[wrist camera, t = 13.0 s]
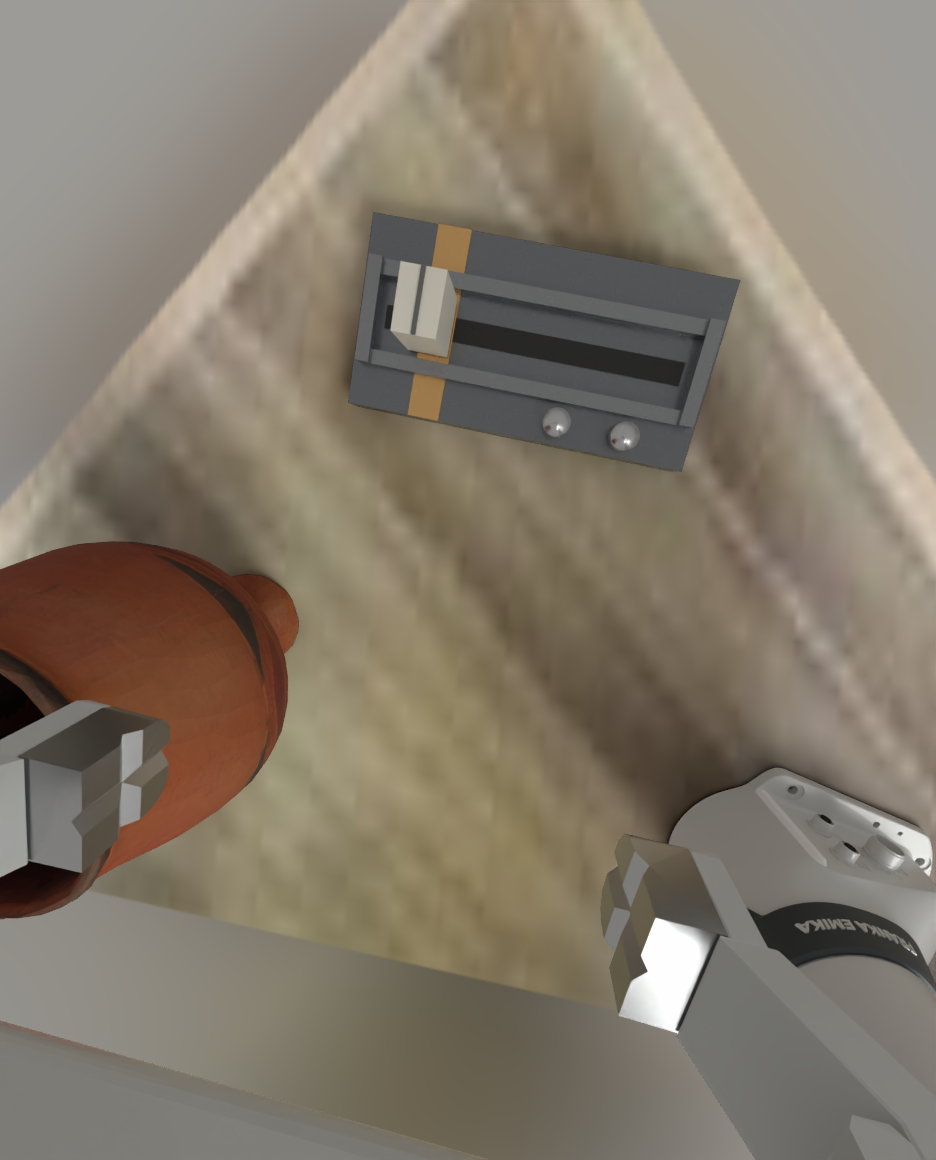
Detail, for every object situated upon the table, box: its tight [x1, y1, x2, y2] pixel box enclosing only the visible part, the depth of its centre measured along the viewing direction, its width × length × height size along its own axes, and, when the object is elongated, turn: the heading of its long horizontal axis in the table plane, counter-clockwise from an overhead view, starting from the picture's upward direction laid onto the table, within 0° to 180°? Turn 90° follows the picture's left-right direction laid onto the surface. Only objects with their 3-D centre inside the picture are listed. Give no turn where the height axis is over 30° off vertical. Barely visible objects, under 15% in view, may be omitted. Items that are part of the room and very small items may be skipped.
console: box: [348, 212, 740, 471], centre depth 35 cm, size 26×13×4 cm, turn 78°
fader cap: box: [390, 261, 457, 358], centre depth 32 cm, size 3×4×5 cm
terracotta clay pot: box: [0, 542, 299, 919], centre depth 32 cm, size 19×19×25 cm
